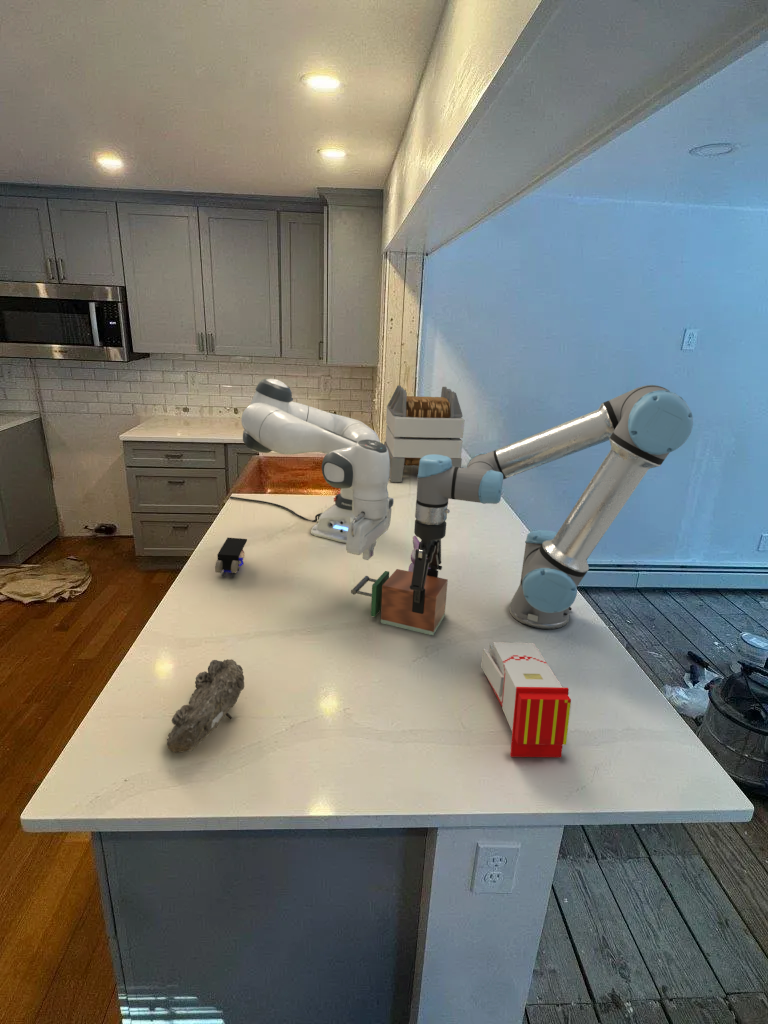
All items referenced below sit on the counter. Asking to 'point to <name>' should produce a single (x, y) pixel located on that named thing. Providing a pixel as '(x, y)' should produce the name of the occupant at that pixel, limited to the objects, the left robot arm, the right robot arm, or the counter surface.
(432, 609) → the cabinet
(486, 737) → the counter surface
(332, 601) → the counter surface
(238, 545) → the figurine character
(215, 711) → the fossil
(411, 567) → the figurine
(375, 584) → the drawer
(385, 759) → the counter surface
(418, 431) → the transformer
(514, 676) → the toy
